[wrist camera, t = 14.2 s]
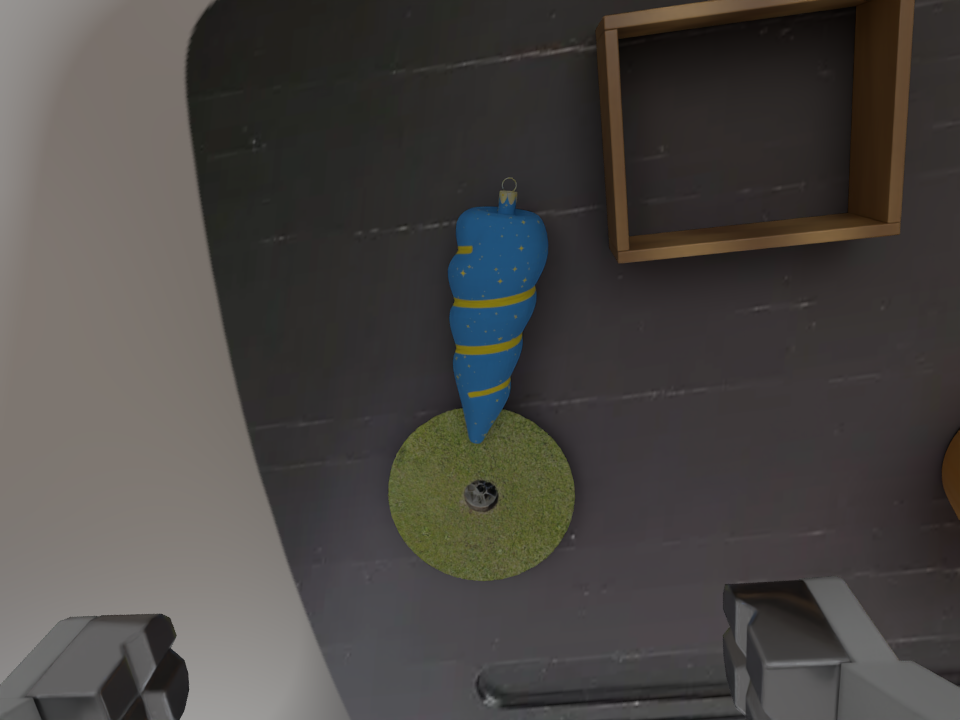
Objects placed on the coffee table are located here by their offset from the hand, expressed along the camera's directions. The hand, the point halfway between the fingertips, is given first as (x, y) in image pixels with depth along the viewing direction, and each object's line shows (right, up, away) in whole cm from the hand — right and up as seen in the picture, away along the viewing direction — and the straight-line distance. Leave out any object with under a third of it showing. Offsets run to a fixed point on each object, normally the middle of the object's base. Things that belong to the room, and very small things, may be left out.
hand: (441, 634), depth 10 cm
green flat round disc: (+1, -4, +34) cm, 34 cm away
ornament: (0, -1, +30) cm, 30 cm away
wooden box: (+14, +16, +26) cm, 34 cm away
